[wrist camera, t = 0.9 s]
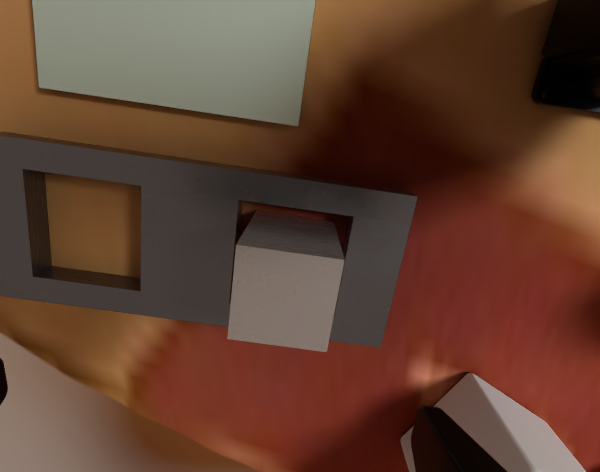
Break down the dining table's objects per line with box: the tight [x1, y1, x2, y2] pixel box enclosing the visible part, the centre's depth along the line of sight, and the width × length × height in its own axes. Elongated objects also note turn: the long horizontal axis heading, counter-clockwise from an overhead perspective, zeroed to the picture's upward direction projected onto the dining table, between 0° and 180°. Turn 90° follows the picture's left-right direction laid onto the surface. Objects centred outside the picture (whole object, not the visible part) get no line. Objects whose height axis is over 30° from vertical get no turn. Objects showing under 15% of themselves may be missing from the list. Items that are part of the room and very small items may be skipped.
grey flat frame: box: [0, 132, 418, 347], centre depth 19 cm, size 22×9×2 cm, turn 82°
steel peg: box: [227, 210, 345, 352], centre depth 18 cm, size 4×4×6 cm
